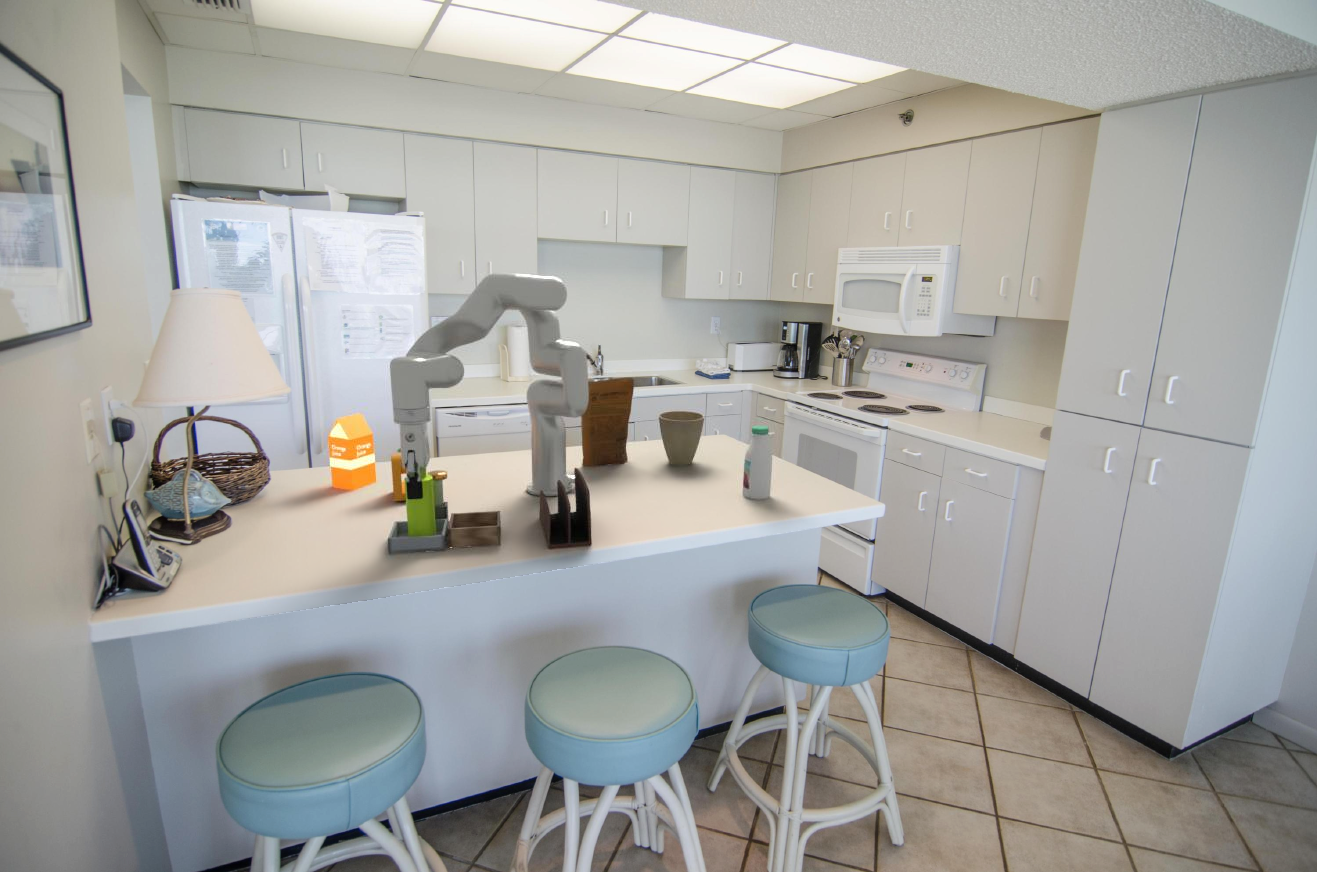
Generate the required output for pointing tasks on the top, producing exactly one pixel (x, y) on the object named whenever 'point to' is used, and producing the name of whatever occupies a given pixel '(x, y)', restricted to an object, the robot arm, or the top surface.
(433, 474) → the plunger
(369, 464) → the orange juice
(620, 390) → the pancake mix bag
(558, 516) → the letter holder
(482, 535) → the wooden box
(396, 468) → the bracket
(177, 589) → the top surface
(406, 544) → the tray
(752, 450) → the milk bottle
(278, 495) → the top surface
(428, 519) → the soap dispenser
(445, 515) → the plunger collar
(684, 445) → the plant pot
